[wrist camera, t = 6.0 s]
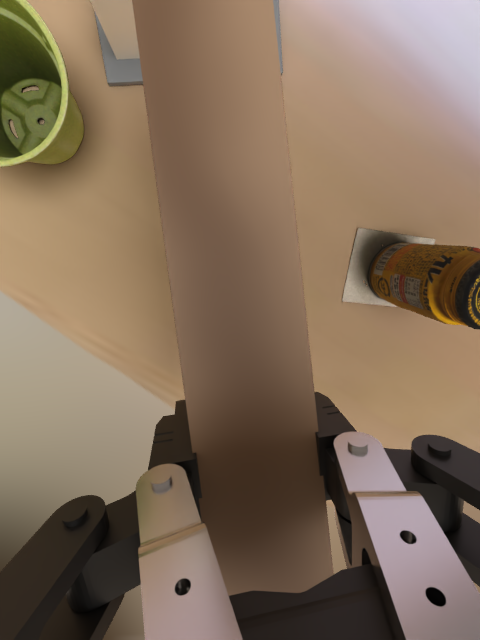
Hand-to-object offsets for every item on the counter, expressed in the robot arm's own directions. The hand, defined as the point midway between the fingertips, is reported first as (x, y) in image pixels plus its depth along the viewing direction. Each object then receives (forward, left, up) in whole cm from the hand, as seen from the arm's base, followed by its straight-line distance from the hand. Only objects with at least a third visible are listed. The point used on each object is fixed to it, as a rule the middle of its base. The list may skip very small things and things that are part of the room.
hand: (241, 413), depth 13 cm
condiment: (-18, -1, -20) cm, 27 cm away
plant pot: (+12, -16, -20) cm, 28 cm away
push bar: (0, -4, -2) cm, 5 cm away
